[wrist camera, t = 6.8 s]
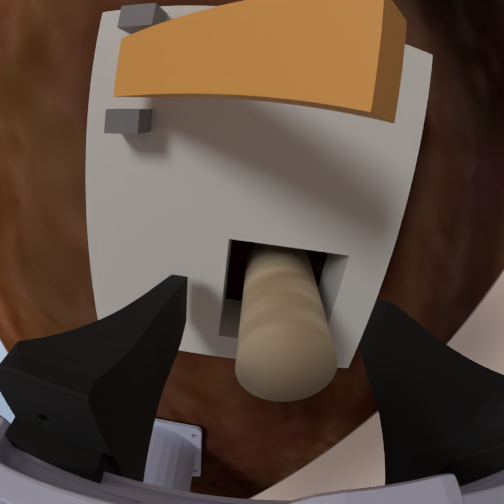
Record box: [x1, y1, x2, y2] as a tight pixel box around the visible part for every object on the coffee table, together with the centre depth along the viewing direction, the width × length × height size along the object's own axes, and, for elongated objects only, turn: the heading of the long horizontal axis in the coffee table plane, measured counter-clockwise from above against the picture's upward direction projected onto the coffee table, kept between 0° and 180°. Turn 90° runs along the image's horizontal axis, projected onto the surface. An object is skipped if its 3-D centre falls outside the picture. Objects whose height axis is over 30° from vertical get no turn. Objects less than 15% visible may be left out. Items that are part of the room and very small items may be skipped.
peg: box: [235, 243, 337, 402], centre depth 12 cm, size 3×3×7 cm
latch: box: [113, 0, 407, 123], centre depth 6 cm, size 2×8×1 cm
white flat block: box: [86, 3, 433, 368], centre depth 12 cm, size 14×12×4 cm
